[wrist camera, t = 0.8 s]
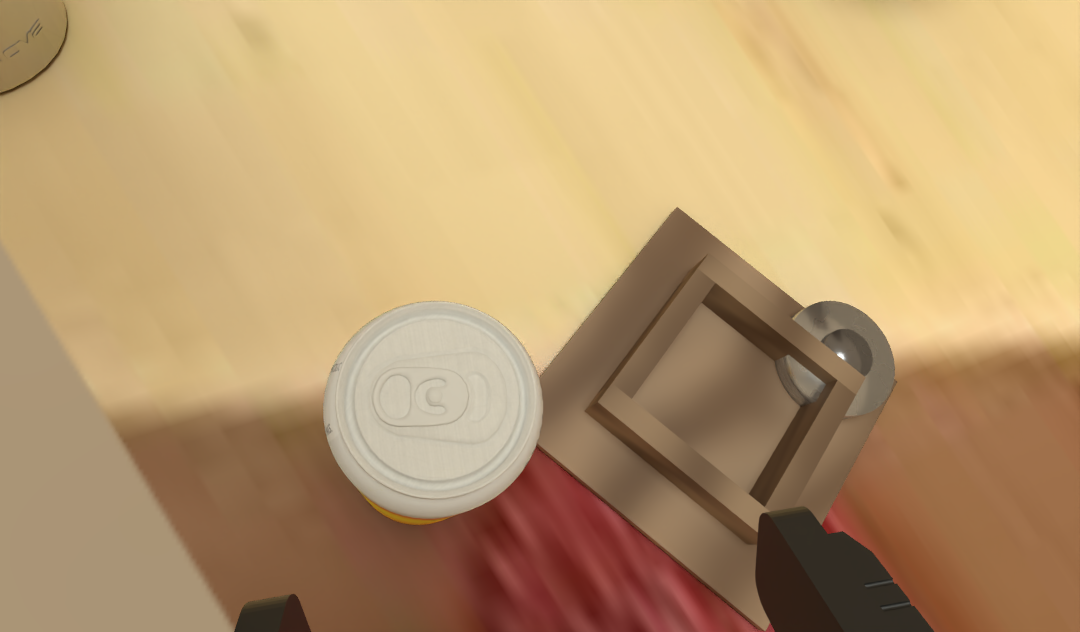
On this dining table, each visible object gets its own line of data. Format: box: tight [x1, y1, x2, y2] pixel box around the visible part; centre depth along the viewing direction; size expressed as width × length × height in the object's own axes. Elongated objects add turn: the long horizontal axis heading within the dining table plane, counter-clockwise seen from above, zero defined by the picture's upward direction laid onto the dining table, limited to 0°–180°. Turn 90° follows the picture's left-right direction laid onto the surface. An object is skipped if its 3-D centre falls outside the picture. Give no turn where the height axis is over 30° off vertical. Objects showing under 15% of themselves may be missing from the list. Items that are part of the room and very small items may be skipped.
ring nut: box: [775, 301, 895, 419], centre depth 36 cm, size 6×6×3 cm
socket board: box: [536, 207, 897, 631], centre depth 34 cm, size 16×16×3 cm
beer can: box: [323, 301, 543, 525], centre depth 24 cm, size 6×6×15 cm
